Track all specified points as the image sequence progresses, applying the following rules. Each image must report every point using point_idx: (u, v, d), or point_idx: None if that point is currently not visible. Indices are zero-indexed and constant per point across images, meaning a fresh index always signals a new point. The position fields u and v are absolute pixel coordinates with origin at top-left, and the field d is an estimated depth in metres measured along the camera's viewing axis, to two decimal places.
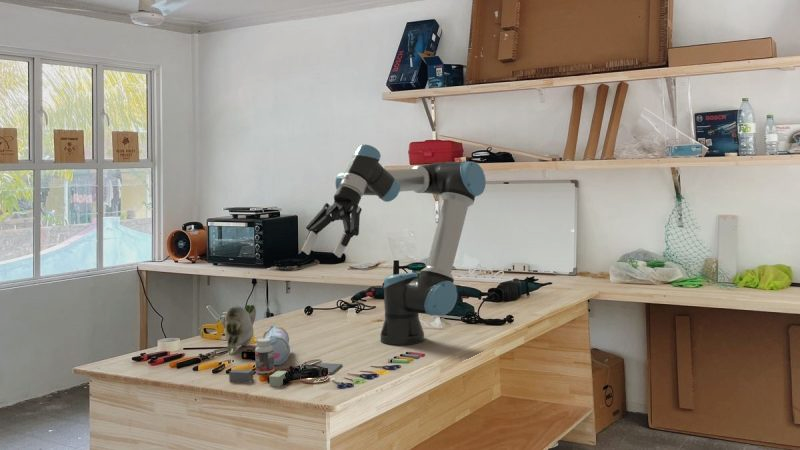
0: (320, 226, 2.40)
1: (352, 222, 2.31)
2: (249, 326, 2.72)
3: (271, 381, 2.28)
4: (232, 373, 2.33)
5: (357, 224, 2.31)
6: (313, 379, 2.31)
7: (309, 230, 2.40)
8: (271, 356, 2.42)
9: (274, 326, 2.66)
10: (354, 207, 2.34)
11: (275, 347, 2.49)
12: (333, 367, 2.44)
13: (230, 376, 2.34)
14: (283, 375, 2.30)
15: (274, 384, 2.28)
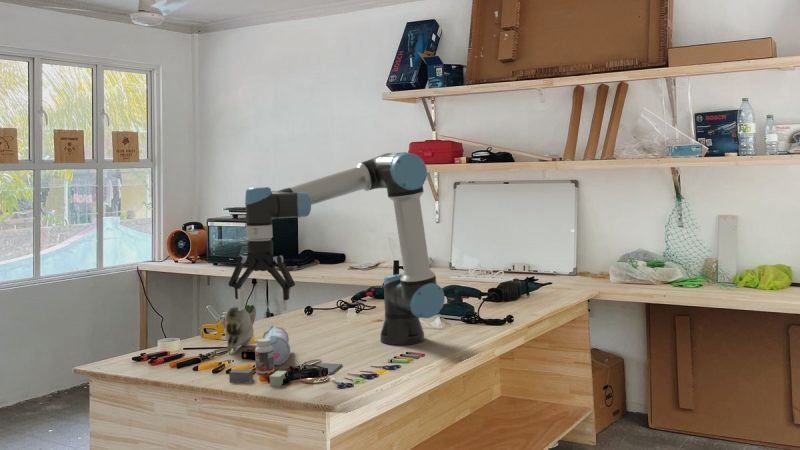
0: (244, 280, 2.42)
1: (286, 277, 2.38)
2: (249, 326, 2.72)
3: (271, 381, 2.28)
4: (232, 373, 2.33)
5: (289, 275, 2.39)
6: (313, 379, 2.31)
7: (235, 288, 2.42)
8: (271, 356, 2.42)
9: (274, 326, 2.66)
10: (279, 260, 2.38)
11: (275, 346, 2.49)
12: (333, 367, 2.44)
13: (230, 376, 2.33)
14: (283, 375, 2.30)
15: (274, 384, 2.28)
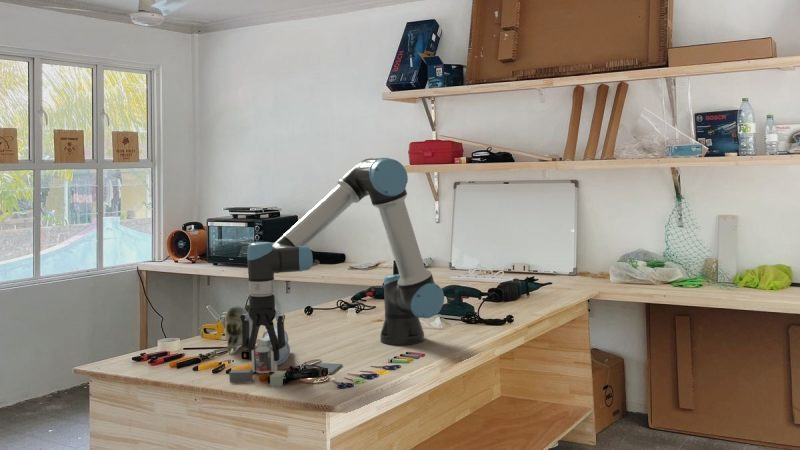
0: (255, 338, 2.43)
1: (279, 338, 2.40)
2: (249, 326, 2.72)
3: (272, 381, 2.28)
4: (232, 373, 2.33)
5: (283, 336, 2.41)
6: (313, 379, 2.31)
7: (249, 349, 2.42)
8: None
9: None
10: (280, 320, 2.39)
11: None
12: (333, 367, 2.44)
13: (230, 376, 2.33)
14: (283, 375, 2.30)
15: (275, 384, 2.28)
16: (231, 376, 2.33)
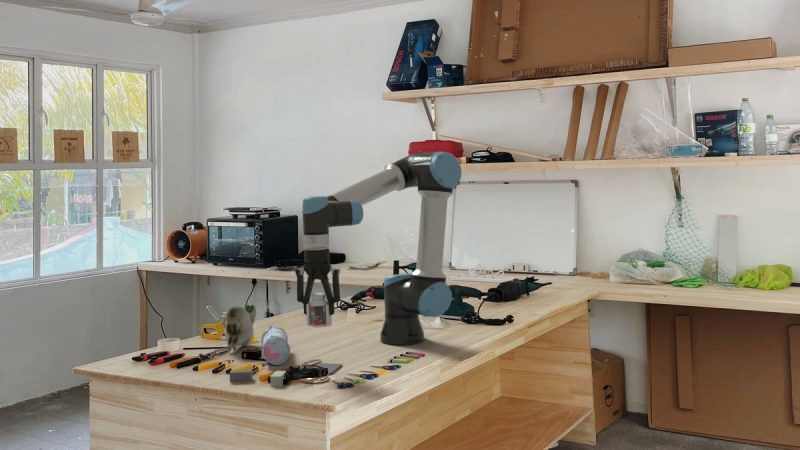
0: (309, 293, 2.43)
1: (335, 291, 2.40)
2: (249, 326, 2.72)
3: (272, 381, 2.28)
4: (233, 373, 2.33)
5: (338, 290, 2.41)
6: (313, 379, 2.31)
7: (304, 303, 2.42)
8: None
9: (273, 326, 2.66)
10: (335, 274, 2.39)
11: (275, 346, 2.49)
12: (333, 367, 2.44)
13: (230, 377, 2.33)
14: (283, 375, 2.30)
15: (275, 384, 2.28)
16: (231, 376, 2.33)
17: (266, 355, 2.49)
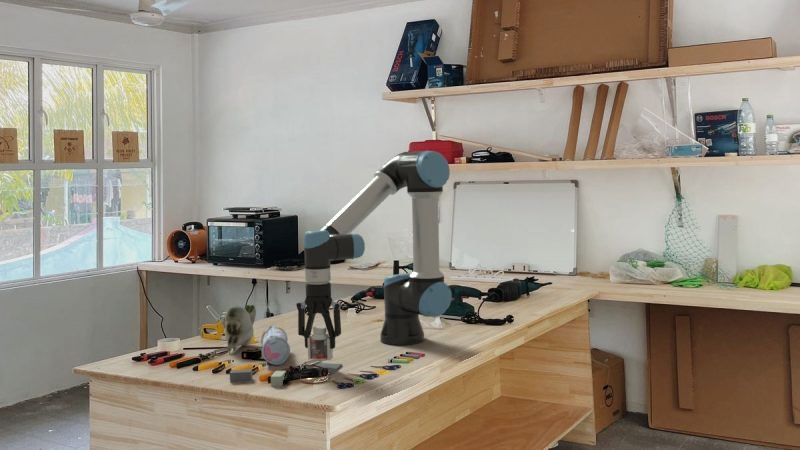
0: (310, 326, 2.44)
1: (336, 325, 2.41)
2: (249, 326, 2.72)
3: (272, 381, 2.28)
4: (233, 374, 2.33)
5: (339, 324, 2.42)
6: (313, 379, 2.31)
7: (305, 337, 2.43)
8: None
9: (273, 326, 2.66)
10: (336, 308, 2.40)
11: (275, 346, 2.49)
12: (333, 367, 2.44)
13: (231, 377, 2.33)
14: (283, 375, 2.30)
15: (276, 384, 2.28)
16: (231, 376, 2.33)
17: (266, 355, 2.49)
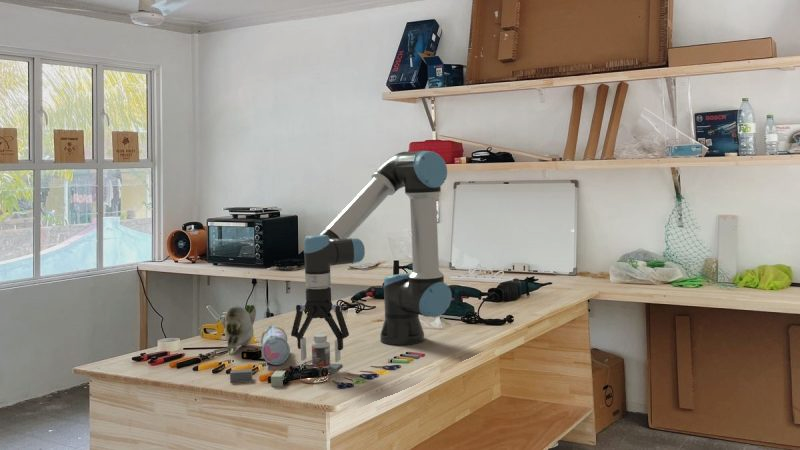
0: (305, 329, 2.44)
1: (341, 327, 2.40)
2: (249, 326, 2.72)
3: (273, 381, 2.28)
4: (233, 374, 2.33)
5: (345, 325, 2.42)
6: (313, 379, 2.31)
7: (298, 338, 2.44)
8: (328, 351, 2.43)
9: (272, 326, 2.66)
10: (338, 310, 2.40)
11: (275, 346, 2.49)
12: (333, 367, 2.44)
13: (231, 377, 2.33)
14: (283, 375, 2.30)
15: (276, 384, 2.28)
16: (232, 376, 2.33)
17: (266, 355, 2.49)
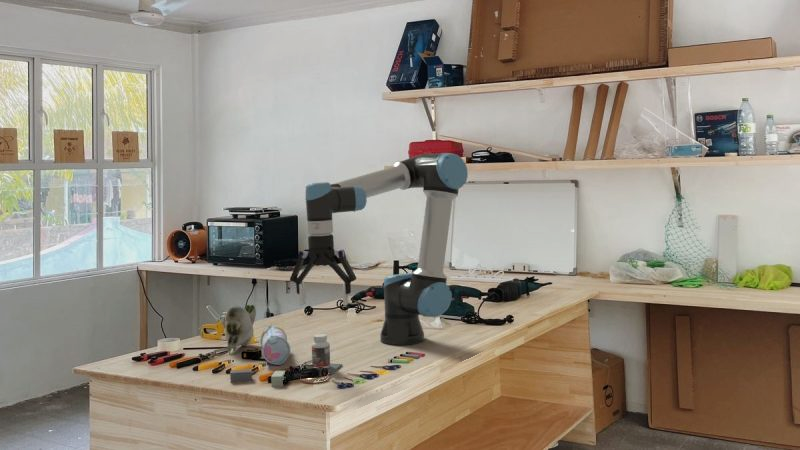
0: (305, 275, 2.45)
1: (348, 271, 2.40)
2: (249, 326, 2.72)
3: (273, 381, 2.28)
4: (234, 374, 2.32)
5: (351, 269, 2.42)
6: (313, 379, 2.31)
7: (296, 283, 2.44)
8: (328, 351, 2.43)
9: (272, 326, 2.66)
10: (341, 255, 2.40)
11: (275, 346, 2.49)
12: (333, 367, 2.44)
13: (231, 377, 2.32)
14: (283, 375, 2.30)
15: (276, 384, 2.28)
16: (232, 376, 2.32)
17: (266, 355, 2.49)
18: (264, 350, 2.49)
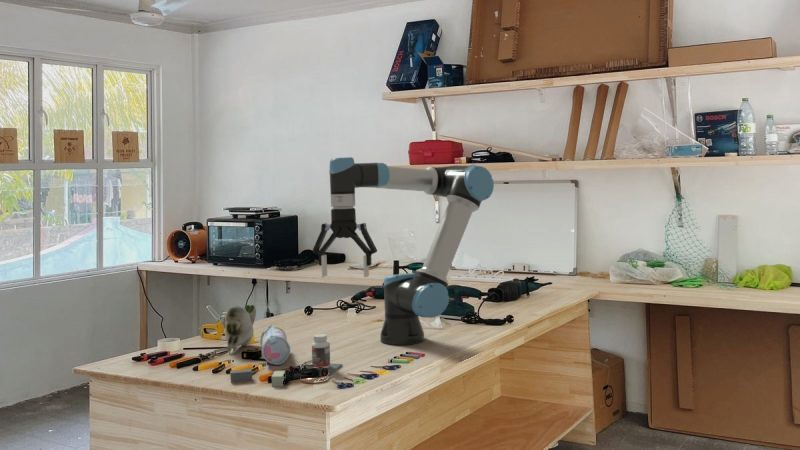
0: (327, 247, 2.52)
1: (369, 243, 2.47)
2: (249, 326, 2.72)
3: (273, 381, 2.27)
4: (234, 374, 2.32)
5: (372, 242, 2.49)
6: (313, 379, 2.31)
7: (319, 255, 2.52)
8: (328, 351, 2.43)
9: (272, 326, 2.66)
10: (362, 227, 2.47)
11: (275, 346, 2.49)
12: (333, 367, 2.44)
13: (232, 377, 2.32)
14: (283, 375, 2.30)
15: (277, 384, 2.28)
16: (232, 377, 2.32)
17: (266, 355, 2.49)
18: (264, 350, 2.49)
